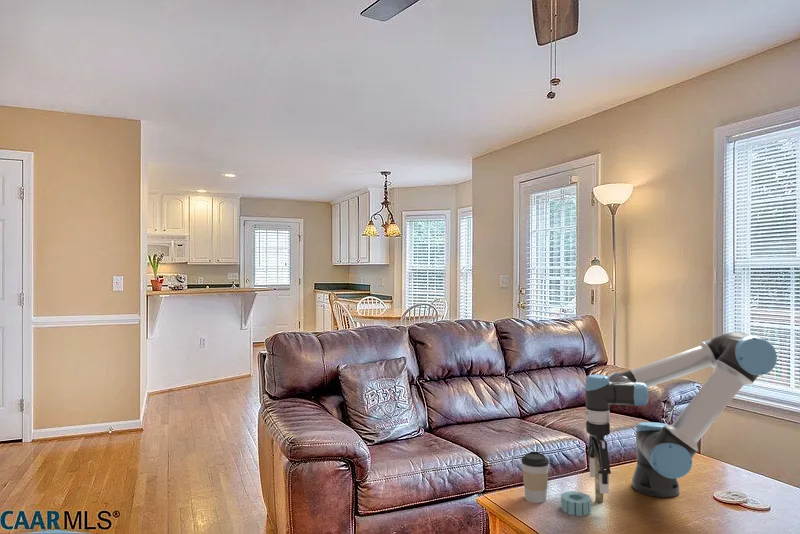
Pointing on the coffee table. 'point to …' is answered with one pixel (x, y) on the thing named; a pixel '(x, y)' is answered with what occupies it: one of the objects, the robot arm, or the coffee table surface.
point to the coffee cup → (535, 476)
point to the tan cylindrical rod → (597, 481)
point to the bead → (576, 503)
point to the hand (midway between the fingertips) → (599, 484)
